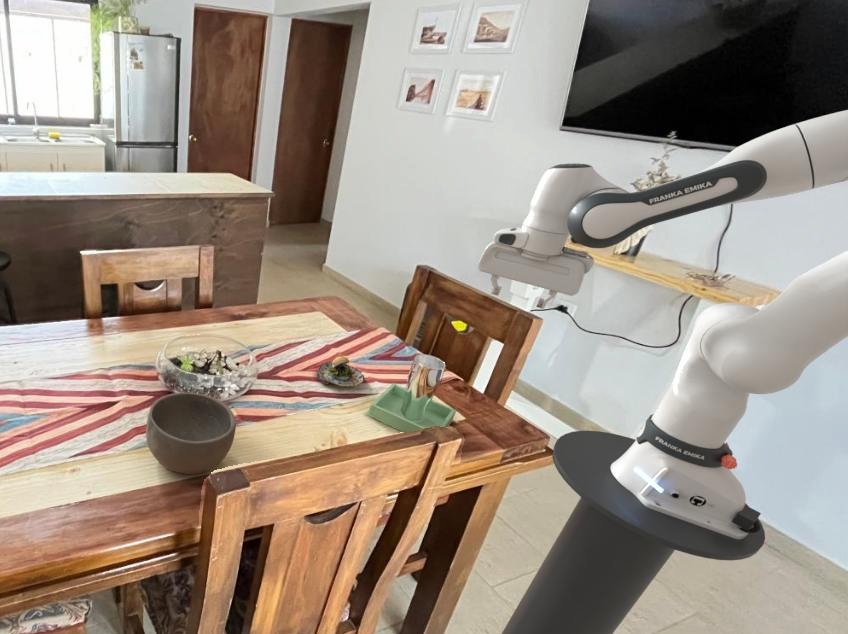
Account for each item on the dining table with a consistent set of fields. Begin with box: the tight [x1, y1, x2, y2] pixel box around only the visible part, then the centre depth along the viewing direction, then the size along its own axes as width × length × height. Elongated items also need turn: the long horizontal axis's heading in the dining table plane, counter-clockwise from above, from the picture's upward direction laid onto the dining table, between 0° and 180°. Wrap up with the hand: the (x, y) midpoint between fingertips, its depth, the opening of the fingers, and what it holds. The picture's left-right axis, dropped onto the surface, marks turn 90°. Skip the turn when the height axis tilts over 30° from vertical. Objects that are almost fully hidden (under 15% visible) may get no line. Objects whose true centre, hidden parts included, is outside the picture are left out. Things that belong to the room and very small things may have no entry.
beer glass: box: [398, 353, 447, 424], centre depth 118 cm, size 7×7×15 cm
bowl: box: [145, 391, 237, 475], centre depth 100 cm, size 17×18×10 cm
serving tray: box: [367, 382, 457, 434], centre depth 121 cm, size 16×14×3 cm
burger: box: [316, 355, 366, 388], centre depth 133 cm, size 12×12×8 cm
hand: (517, 300), depth 116 cm, fingers open, 8 cm apart
